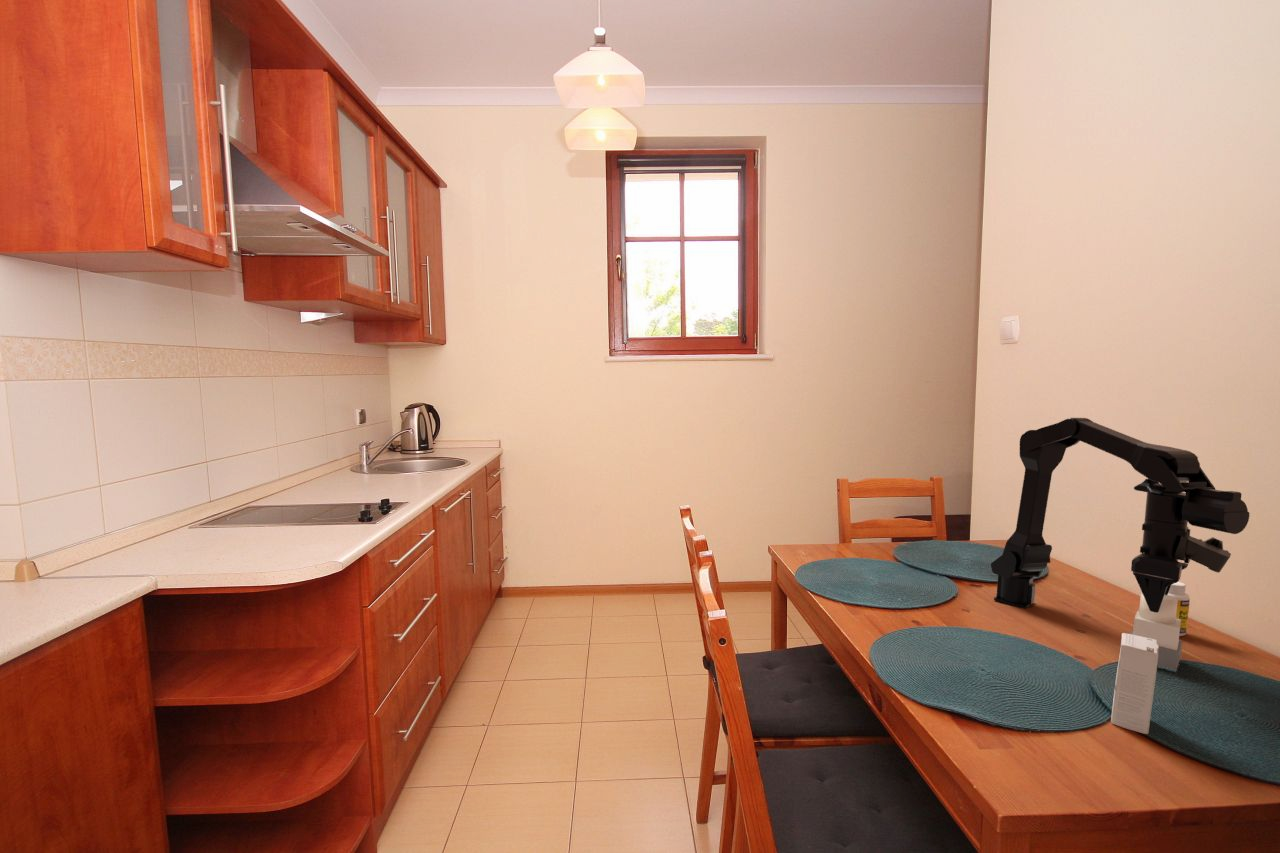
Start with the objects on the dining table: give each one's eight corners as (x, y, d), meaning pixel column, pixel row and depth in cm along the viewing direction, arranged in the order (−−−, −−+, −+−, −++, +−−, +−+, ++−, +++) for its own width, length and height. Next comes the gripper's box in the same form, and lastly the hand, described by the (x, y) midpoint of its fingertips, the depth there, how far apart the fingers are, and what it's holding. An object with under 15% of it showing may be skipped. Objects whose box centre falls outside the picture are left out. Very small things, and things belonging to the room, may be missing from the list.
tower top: (1132, 639, 107) (1134, 618, 107) (1135, 630, 112) (1137, 609, 112) (1177, 650, 103) (1179, 628, 103) (1178, 640, 108) (1180, 619, 107)
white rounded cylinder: (1136, 617, 107) (1139, 595, 107) (1140, 610, 111) (1142, 589, 111) (1174, 626, 104) (1176, 603, 104) (1176, 619, 107) (1179, 597, 107)
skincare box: (1112, 708, 91) (1118, 630, 90) (1151, 719, 88) (1158, 639, 87) (1110, 725, 86) (1117, 643, 85) (1151, 737, 83) (1159, 652, 82)
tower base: (1124, 660, 108) (1126, 638, 108) (1130, 649, 113) (1132, 628, 113) (1176, 674, 103) (1178, 652, 103) (1180, 662, 108) (1182, 641, 108)
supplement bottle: (1181, 639, 118) (1185, 588, 117) (1145, 629, 122) (1150, 580, 122) (1190, 633, 121) (1195, 584, 120) (1155, 624, 125) (1159, 576, 125)
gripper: (1225, 537, 94) (1215, 634, 95) (1232, 521, 107) (1223, 606, 108) (1134, 523, 102) (1126, 613, 103) (1151, 510, 115) (1143, 590, 116)
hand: (1157, 605), depth 107 cm, fingers open, 9 cm apart
